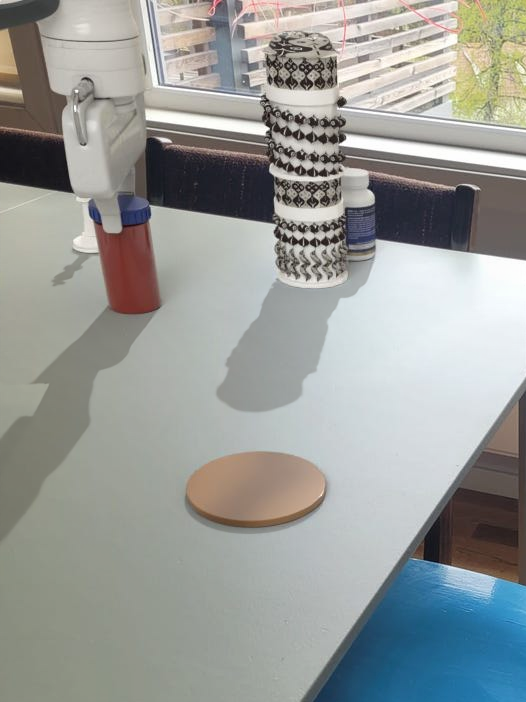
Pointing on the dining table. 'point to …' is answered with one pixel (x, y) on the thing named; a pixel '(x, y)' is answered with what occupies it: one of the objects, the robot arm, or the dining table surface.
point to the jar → (129, 268)
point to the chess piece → (86, 232)
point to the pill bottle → (358, 214)
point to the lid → (125, 209)
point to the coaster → (256, 489)
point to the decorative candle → (305, 158)
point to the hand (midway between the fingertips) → (121, 220)
